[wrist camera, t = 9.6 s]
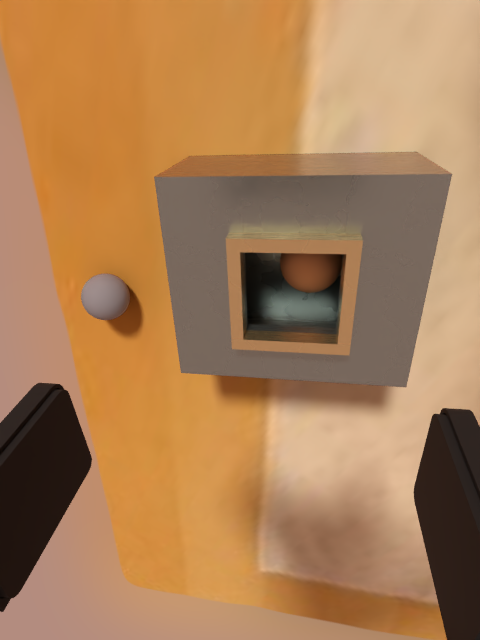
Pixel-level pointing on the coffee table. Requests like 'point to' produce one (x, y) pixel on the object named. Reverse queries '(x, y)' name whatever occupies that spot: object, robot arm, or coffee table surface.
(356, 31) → the coffee table surface
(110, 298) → the bead
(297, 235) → the grey box with opening
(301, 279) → the bead
